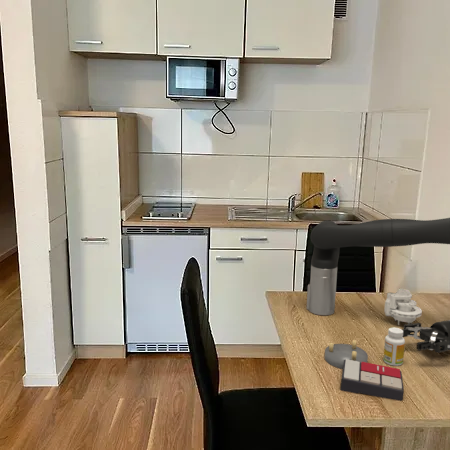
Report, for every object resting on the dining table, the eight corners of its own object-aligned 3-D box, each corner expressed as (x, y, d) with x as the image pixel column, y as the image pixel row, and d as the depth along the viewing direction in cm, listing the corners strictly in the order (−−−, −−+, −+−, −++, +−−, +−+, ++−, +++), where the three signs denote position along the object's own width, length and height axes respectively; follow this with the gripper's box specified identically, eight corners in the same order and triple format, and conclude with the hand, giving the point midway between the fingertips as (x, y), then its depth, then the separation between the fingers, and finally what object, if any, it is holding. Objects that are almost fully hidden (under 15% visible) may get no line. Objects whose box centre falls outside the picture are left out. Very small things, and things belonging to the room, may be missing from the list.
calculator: (404, 389, 115) (341, 376, 119) (402, 404, 116) (339, 391, 120) (401, 367, 125) (344, 356, 130) (399, 382, 126) (342, 370, 130)
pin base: (316, 358, 136) (317, 344, 135) (339, 346, 144) (340, 332, 144) (353, 374, 128) (354, 359, 127) (375, 360, 136) (376, 345, 135)
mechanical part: (415, 332, 155) (418, 298, 153) (379, 323, 162) (382, 290, 160) (424, 321, 164) (428, 289, 161) (390, 313, 171) (392, 282, 169)
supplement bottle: (402, 358, 137) (405, 327, 135) (403, 367, 132) (406, 335, 130) (383, 355, 139) (386, 325, 137) (383, 364, 134) (385, 332, 132)
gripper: (434, 312, 147) (391, 318, 141) (471, 331, 134) (426, 338, 128) (431, 334, 148) (389, 341, 143) (468, 355, 135) (423, 363, 130)
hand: (407, 340), depth 136 cm, fingers open, 8 cm apart
